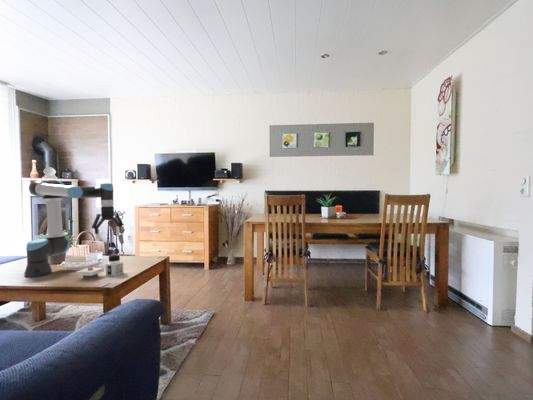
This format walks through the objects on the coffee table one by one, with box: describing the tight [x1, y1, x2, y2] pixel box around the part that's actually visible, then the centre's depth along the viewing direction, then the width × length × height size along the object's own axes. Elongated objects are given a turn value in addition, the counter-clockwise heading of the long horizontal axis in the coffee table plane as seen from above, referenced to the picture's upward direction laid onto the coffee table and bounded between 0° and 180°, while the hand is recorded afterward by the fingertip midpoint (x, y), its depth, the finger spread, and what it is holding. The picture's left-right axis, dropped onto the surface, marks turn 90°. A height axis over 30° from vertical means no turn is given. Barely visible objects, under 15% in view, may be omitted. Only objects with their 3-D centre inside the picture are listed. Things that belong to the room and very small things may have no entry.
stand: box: [82, 273, 99, 280], centre depth 197 cm, size 6×6×3 cm
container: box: [105, 254, 124, 277], centre depth 205 cm, size 8×8×13 cm
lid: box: [75, 266, 105, 276], centre depth 197 cm, size 11×11×4 cm
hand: (108, 237), depth 206 cm, fingers open, 13 cm apart
